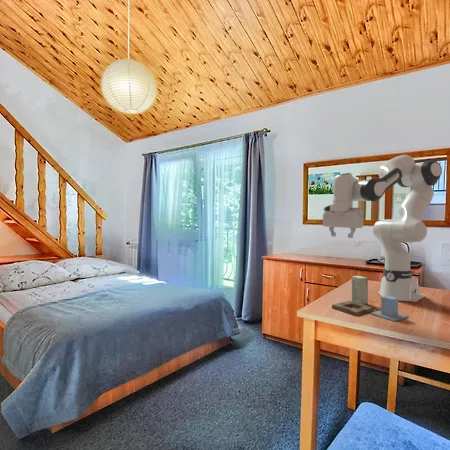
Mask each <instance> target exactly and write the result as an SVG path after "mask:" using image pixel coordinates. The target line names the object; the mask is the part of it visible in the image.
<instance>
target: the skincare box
mask: <svg viewBox="0 0 450 450" xmlns="http://www.w3.org/2000/svg"><path fill="white" fill-rule="evenodd" d="M368 281H369V278H368V277H365V276H361V275H352V276H351V301H352V302H356V303H359V304H363V305H368V304H369V286H368V285H369V282H368Z"/></svg>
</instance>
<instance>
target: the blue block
mask: <svg viewBox="0 0 450 450" xmlns="http://www.w3.org/2000/svg"><path fill="white" fill-rule="evenodd" d="M380 297H381V298H380V310H381V314H384V315H387V316H390V317H393V316H396V315H398V313H399V301H398V298H396V297H392V296H388V295H387V296H383V297H382V296H380Z"/></svg>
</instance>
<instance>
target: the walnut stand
mask: <svg viewBox="0 0 450 450" xmlns="http://www.w3.org/2000/svg"><path fill="white" fill-rule="evenodd" d="M331 308H332V309H334V310H337V311H340V312H343V313H346V314H349V315H352V316H355V317H356V316H360V315H365V314H368V313H372V312H375V311H374V309H375V308H374V306H369V305H367V304H359V303H356V302H352V300H347V301H343V302H337V303H334V304H332V305H331Z"/></svg>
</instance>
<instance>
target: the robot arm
mask: <svg viewBox="0 0 450 450" xmlns="http://www.w3.org/2000/svg"><path fill="white" fill-rule="evenodd" d="M415 162H416V161H415V159H414V158H413V157H412V156H410V155H408V154H401V155H398V156H395V157H393V158H390V159H389V160H387V161H385V162H384V163H383V164H382V165H381V166H379V168H378V170H377V171H378V172H377V173H378V177H379V178H370V179H364V180H363V179H362V180H358V179H357V178H355V177H354V176H353V173H350V172H346V173H340V174H337V175H336V176H335V177H333V185H332V194H333V199H332V203H331V204H328V205H326V206H324V207H323V211H324V212H323V214H322V226H323V227H327V228H328V229H329V232H330V236H331V237H336V236H337V232H335V230H334V229H335V228H347V229H350V232H349V233H347V238H350V239H353V238H354V234H355V232H356V229H362V228H363V227H364V215H363V214H364V211H363V209H362V208H360V207H354V206H353V205H354V203H353V202H377V201H380V200H381V198H382V197H383V196H384V195H385V193H386V192H387V191H388V190H389V189H390V188H392V187H393V186H394V185H396V184H397V185H398V186H399V187H401V188H411V189H410V191H409V192H408V194H407V195H406V197H405V198H404V199H403V201H402V202H401V204H400V205H399V207H398V212H399V215H400V216H401V218H398V219H397V218H396V219H390V218H389V219H386V218H385V219H381V220H378V221H377V220H376V222H375V223H374V225H373V228H372V233H373V235H374V236H375V238H377V240H379V242H380V244H381V246H382V249H383V253H384V268H383V277H382V278H381V281H380V289H379V290H378V291H377V294H379V295H380V297H383V296H387V295H388V296H392V297H396V298H398V302H399V301H400V302H402V301H403V302H410V303H411V302H415V303H417V302H418V301H420V300H421V299H423V298H425V294H424V293H421V292H420V285H419V283H418V282H417V281H416V280H415V279H414V278H413V275H415V270H412V269H411V254H410V252H409V251H407V250H406V249H405V248H404V247H403V244H402V243H409V244H410V243H420V242H422V241H423V240H425V238H426V237H427V234H428V228H427V226H426V225H425V223H424V222H423V221H422V219H423V216H424V215H425V212H426V211H427V209H428V208H429V207H430V204H431V203H432V200H433V197H434V195H435V191H434V188H433V187H432V186H435V185H436V184H438V180H440V178H441V176H442V174H443V173H442V172H443V168H442V166H441V164H440V163H439V162H438V161H437V160H426V161H425V160H424V161H422V162H418V163H415Z"/></svg>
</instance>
